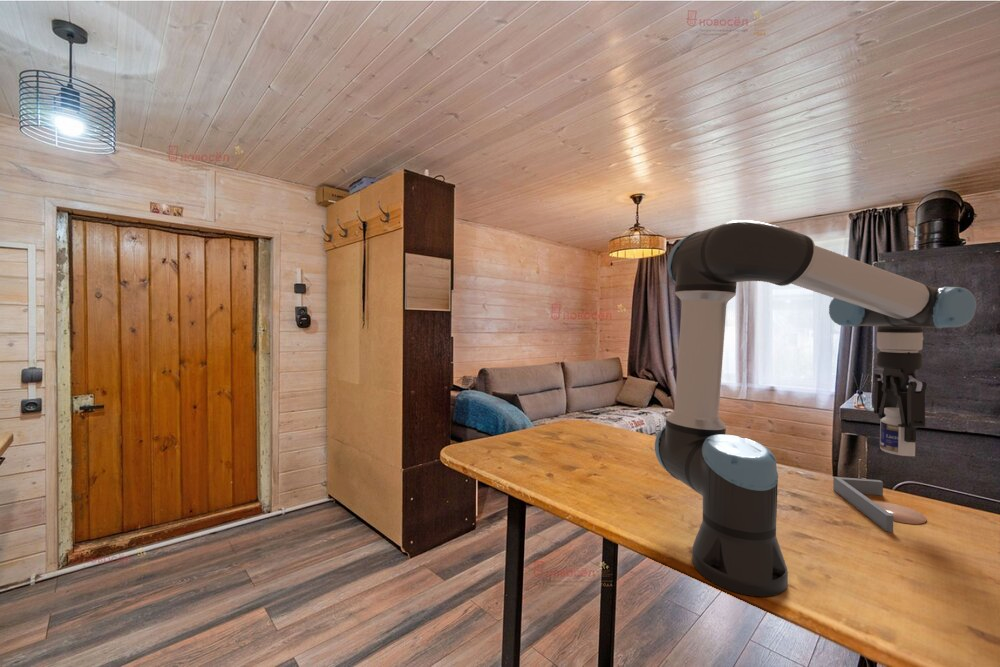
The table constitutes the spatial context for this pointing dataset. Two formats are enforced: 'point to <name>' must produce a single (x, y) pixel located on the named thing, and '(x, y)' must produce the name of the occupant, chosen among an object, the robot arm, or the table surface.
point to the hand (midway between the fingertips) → (896, 450)
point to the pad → (903, 513)
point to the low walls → (864, 498)
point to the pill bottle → (890, 430)
